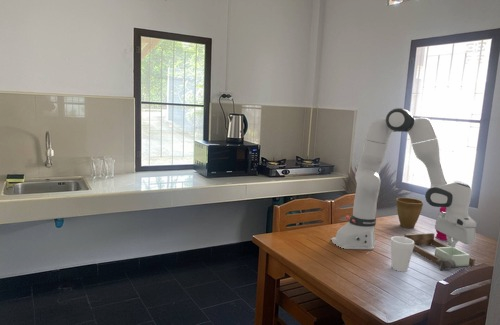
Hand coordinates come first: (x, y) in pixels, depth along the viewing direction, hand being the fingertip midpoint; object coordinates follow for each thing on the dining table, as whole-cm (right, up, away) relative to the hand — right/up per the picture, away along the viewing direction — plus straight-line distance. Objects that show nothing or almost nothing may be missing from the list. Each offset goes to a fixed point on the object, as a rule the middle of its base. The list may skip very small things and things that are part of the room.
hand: (451, 246), depth 172 cm
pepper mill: (+14, -4, +34) cm, 37 cm away
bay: (-4, -7, +7) cm, 11 cm away
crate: (+1, -8, +1) cm, 8 cm away
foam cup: (-27, -8, -8) cm, 29 cm away
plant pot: (+2, 0, +54) cm, 54 cm away
